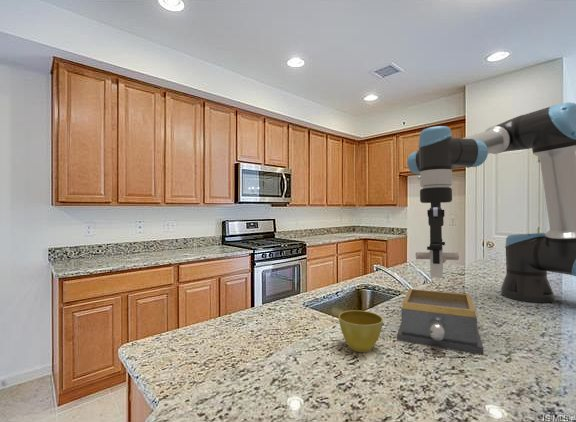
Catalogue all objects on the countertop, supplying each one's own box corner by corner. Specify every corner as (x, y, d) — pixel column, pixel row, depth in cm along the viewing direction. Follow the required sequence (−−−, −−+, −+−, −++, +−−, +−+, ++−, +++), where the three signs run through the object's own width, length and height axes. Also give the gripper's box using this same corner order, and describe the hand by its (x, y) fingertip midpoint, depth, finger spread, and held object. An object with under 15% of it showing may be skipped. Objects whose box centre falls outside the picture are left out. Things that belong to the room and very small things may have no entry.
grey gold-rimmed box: (475, 326, 82) (475, 293, 82) (485, 362, 63) (484, 319, 63) (405, 317, 91) (404, 287, 91) (394, 346, 71) (394, 308, 71)
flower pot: (391, 347, 71) (390, 316, 71) (369, 362, 64) (368, 328, 64) (354, 335, 78) (353, 307, 78) (330, 348, 71) (330, 317, 71)
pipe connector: (465, 280, 73) (464, 238, 73) (420, 279, 75) (420, 238, 75) (451, 272, 82) (450, 235, 83) (412, 271, 84) (412, 235, 85)
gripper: (422, 190, 91) (423, 265, 90) (416, 184, 70) (418, 280, 70) (451, 189, 87) (452, 266, 87) (453, 183, 67) (454, 283, 67)
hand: (437, 272), depth 79 cm, fingers closed on pipe connector, 10 cm apart
